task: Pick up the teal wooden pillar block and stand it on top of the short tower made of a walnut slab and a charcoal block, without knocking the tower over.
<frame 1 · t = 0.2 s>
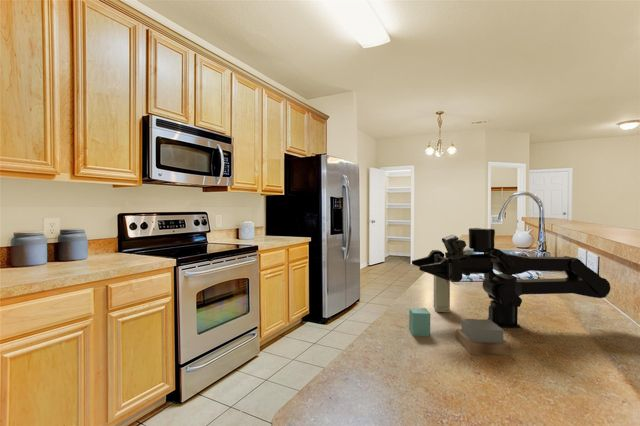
hand: (415, 265, 96), 17 cm above the countertop, tool horizontal, fingers open, 9 cm apart
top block: (481, 336, 80), point 2 cm above the countertop, touching bottom block
bottom block: (481, 348, 81), on the countertop, touching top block
pillar block: (419, 332, 89), on the countertop
skincare box: (441, 310, 109), on the countertop
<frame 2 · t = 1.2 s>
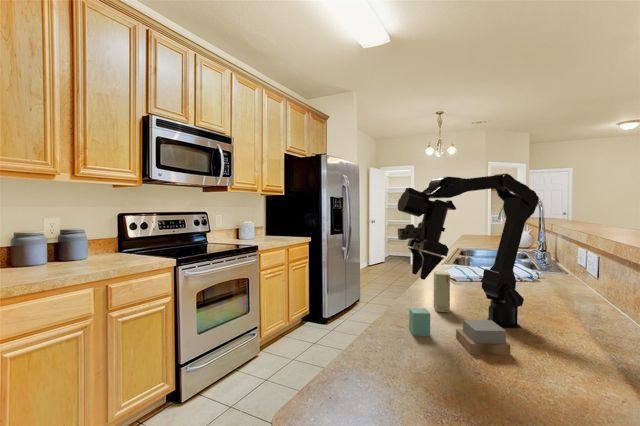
hand: (417, 276, 90), 15 cm above the countertop, tool tilted 15°, fingers open, 9 cm apart
nothing on the countertop moved.
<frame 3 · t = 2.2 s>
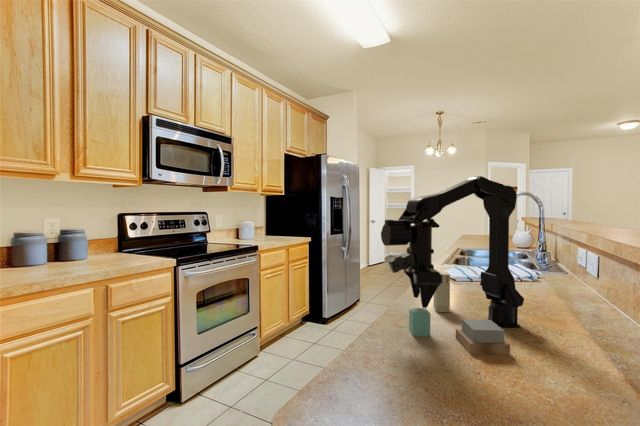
hand: (420, 302, 89), 8 cm above the countertop, tool pointing down, fingers open, 9 cm apart
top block: (482, 336, 80), point 2 cm above the countertop
bottom block: (481, 348, 81), on the countertop
everything else where it was.
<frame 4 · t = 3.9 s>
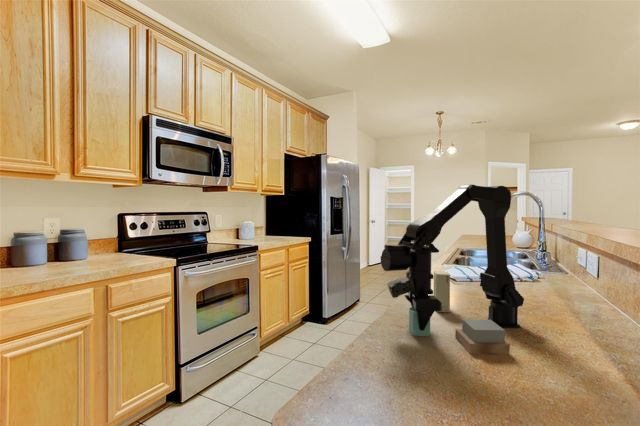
hand: (419, 326, 89), 2 cm above the countertop, tool pointing down, fingers closed on pillar block, 4 cm apart
pillar block: (419, 332, 89), on the countertop, touching gripper
everything else where it was.
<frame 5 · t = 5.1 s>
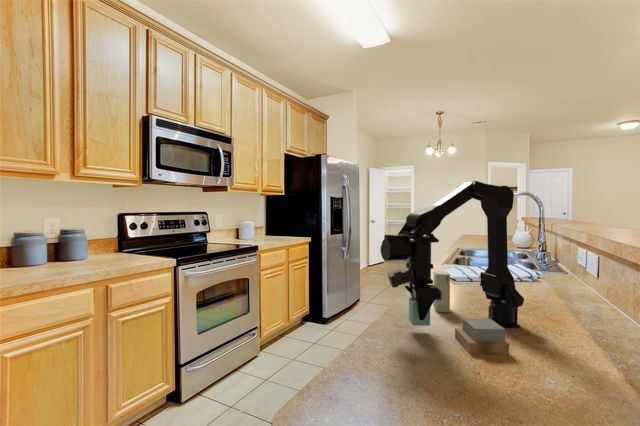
hand: (419, 316, 89), 4 cm above the countertop, tool pointing down, fingers closed on pillar block, 4 cm apart
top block: (482, 335, 81), point 2 cm above the countertop, touching bottom block
bottom block: (480, 347, 81), on the countertop, touching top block
pillar block: (419, 322, 89), point 3 cm above the countertop, touching gripper
everything else where it was.
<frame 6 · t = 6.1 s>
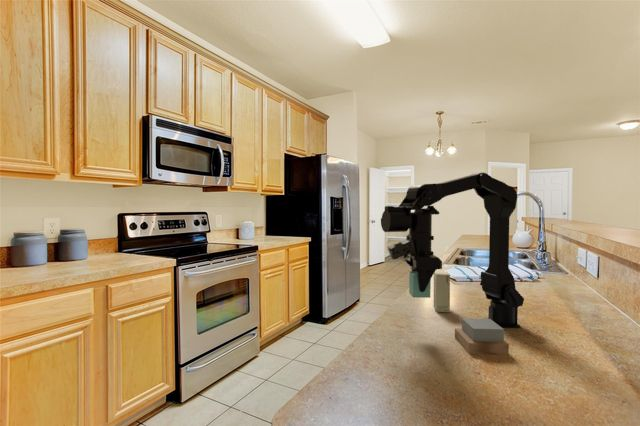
hand: (419, 289, 89), 12 cm above the countertop, tool pointing down, fingers closed on pillar block, 4 cm apart
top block: (481, 335, 81), point 2 cm above the countertop
bottom block: (480, 347, 81), on the countertop
pillar block: (419, 295, 89), point 10 cm above the countertop, touching gripper
everything else where it was.
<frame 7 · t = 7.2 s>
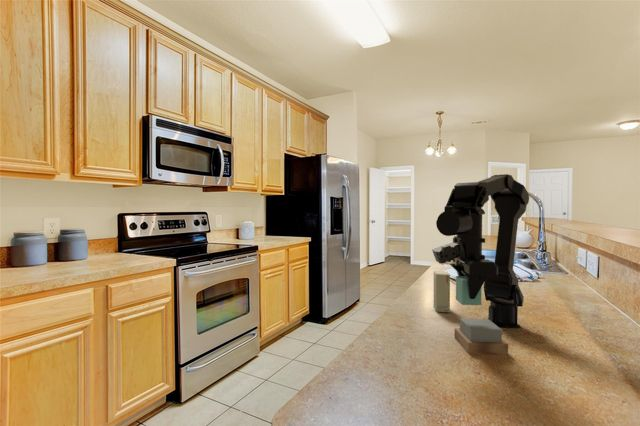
hand: (468, 295, 82), 12 cm above the countertop, tool pointing down, fingers closed on pillar block, 4 cm apart
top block: (479, 336, 81), point 2 cm above the countertop, touching bottom block
bottom block: (479, 347, 81), on the countertop, touching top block
pillar block: (468, 302, 82), point 10 cm above the countertop, touching gripper
everything else where it was.
when the fingers open (9 cm above the countertop, at t = 9.5 s): pillar block drops 2 cm, resting on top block.
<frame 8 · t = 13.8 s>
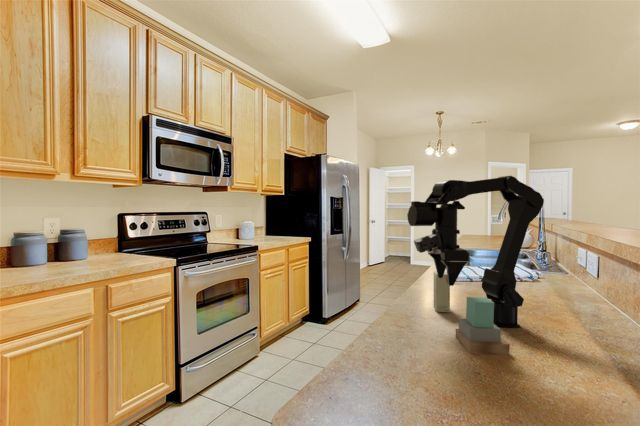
hand: (445, 281, 92), 13 cm above the countertop, tool pointing down, fingers open, 9 cm apart
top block: (478, 335, 81), point 2 cm above the countertop, touching bottom block, pillar block
pillar block: (479, 324, 81), point 5 cm above the countertop, touching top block
everything else where it was.
at the end: pillar block 0.4 cm off-centre on the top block, point 3.1 cm above the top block's base; pillar block tilted 1°; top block 0.5 cm off-centre on the bottom block, point 3.0 cm above the bottom block's base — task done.
